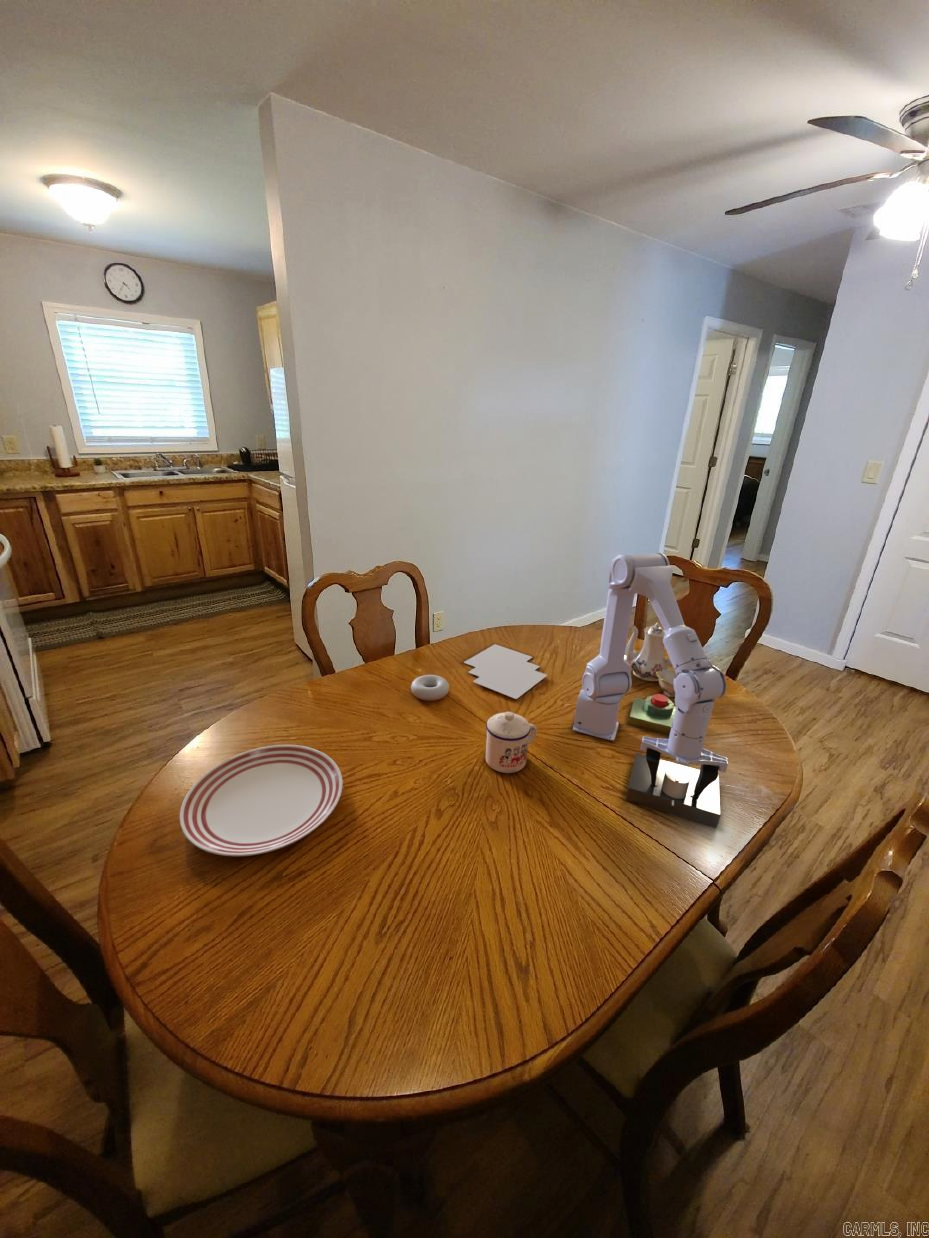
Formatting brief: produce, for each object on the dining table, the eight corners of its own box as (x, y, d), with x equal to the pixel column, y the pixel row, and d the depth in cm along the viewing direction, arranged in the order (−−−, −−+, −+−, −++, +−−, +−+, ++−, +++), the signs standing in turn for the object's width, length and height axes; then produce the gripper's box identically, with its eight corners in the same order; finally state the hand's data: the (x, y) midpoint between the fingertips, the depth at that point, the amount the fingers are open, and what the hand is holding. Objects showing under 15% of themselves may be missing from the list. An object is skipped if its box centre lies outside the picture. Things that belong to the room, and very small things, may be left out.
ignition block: (628, 724, 120) (630, 709, 119) (633, 703, 129) (635, 690, 127) (681, 737, 116) (684, 723, 114) (683, 715, 124) (686, 701, 123)
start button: (650, 705, 122) (652, 699, 121) (652, 698, 125) (653, 692, 124) (666, 709, 120) (667, 702, 120) (667, 701, 123) (668, 695, 123)
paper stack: (445, 672, 141) (445, 670, 140) (494, 644, 159) (495, 642, 159) (516, 701, 128) (516, 699, 128) (561, 666, 146) (561, 664, 146)
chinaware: (585, 678, 144) (590, 627, 136) (606, 653, 156) (612, 605, 148) (688, 711, 129) (700, 656, 122) (702, 680, 141) (714, 628, 134)
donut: (434, 707, 124) (456, 690, 132) (434, 696, 123) (456, 679, 131) (403, 695, 129) (426, 679, 137) (402, 684, 128) (426, 668, 136)
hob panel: (624, 804, 95) (627, 791, 94) (633, 763, 106) (635, 751, 105) (717, 833, 89) (721, 819, 88) (715, 786, 100) (719, 774, 99)
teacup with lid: (499, 780, 100) (503, 731, 96) (476, 754, 107) (478, 708, 103) (546, 762, 106) (552, 715, 101) (521, 739, 113) (525, 694, 109)
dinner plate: (338, 857, 82) (337, 841, 80) (156, 876, 77) (151, 860, 76) (347, 752, 107) (346, 739, 105) (209, 762, 102) (207, 749, 101)
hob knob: (662, 779, 97) (666, 763, 96) (686, 786, 96) (690, 770, 94) (660, 794, 94) (664, 777, 92) (686, 801, 92) (690, 784, 90)
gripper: (644, 730, 89) (632, 790, 94) (735, 753, 83) (716, 816, 88) (648, 710, 95) (636, 768, 100) (732, 730, 89) (715, 791, 94)
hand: (674, 789), depth 95 cm, fingers open, 7 cm apart
